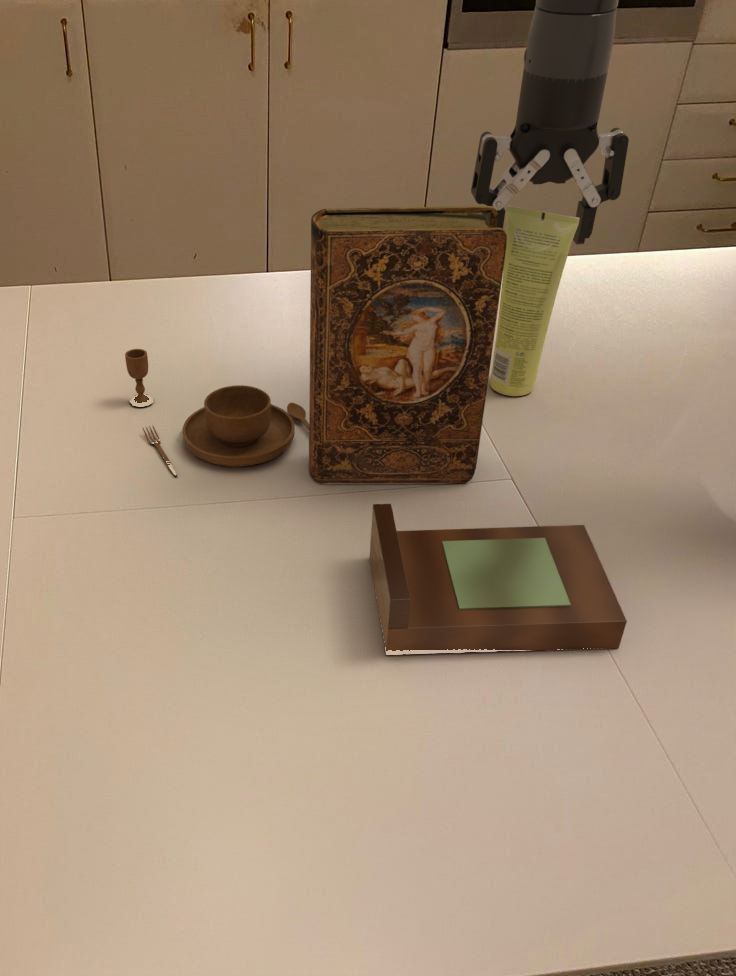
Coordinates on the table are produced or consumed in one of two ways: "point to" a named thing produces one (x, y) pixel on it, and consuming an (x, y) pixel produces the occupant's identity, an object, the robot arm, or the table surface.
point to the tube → (528, 294)
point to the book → (401, 341)
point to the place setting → (228, 422)
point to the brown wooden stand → (491, 588)
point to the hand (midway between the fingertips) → (536, 243)
